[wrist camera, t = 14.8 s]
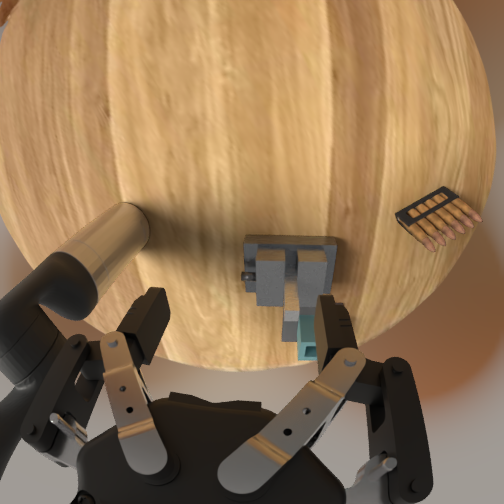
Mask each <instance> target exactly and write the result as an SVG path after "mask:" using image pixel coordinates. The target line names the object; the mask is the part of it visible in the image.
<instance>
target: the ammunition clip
mask: <svg viewBox="0 0 504 504" xmlns="http://www.w3.org/2000/svg"><path fill="white" fill-rule="evenodd" d="M466 215H467V216H468V217H470V218H472V219H473V220H475V221H478V222H483V221H482V218H481V217H480V216H479V214H478V213H477V212H475V211H474V210H473V209H472V208H470V206H469V205H468V204H466V203H465V202H463V201H462V200H460V199H459V196H458V195H456V194H455V193H453V192H452V191H450V190H449V189H447V188H446V187H444V186H442V187H441V188H439V189H437V190H436V191H434V192H432V193H430V194H429V195H427V196H425V197H423V198H422V199H420V200H418V201H416V202H415V203H413V204H411V205H409V206H407V207H406V208H404V209H402V210H400V211H399V212H397V213H395V216H396V218H397V221H398V223H399V224H400V225H401V226H402V227H403V228H404V229H405V230H406V231H408V232H409V233H410V234H411V235H413V236H414V237H415V238H416V239H417V240H418V241H419V242H421V243H422V244H423V245H424V246H425V247H426V248H427V249H428V250H430V251H432V252H435V247H434V245H433V243H432V242H431V240H430V239H429V238H428V237H427V235H428V236H430V237H432V238H433V239H434V240H435V241H436V242H437V243H439V244H440V245H443V246H446V242H445V240H444V238H443V237H442V236H441V234H440V233H439V232H438V231H437V230H439V231H441V232H442V233H444V234H445V235H446V236H447V237H449V238H451V239H453V240H455V239H456V237H455V234H454V233H453V231H452V230H451V229H450V228H449V227H448V226H447V225H449V226H451V227H452V228H453V229H455V230H456V231H458V232H460V233H462V234H465V230H464V228H463V227H462V225H461V224H460V223H459V222H458V221H460V222H461V223H463V224H464V225H466V226H468V227H470V228H474V225H473V223H472V221H471V220H470V219H469V218H468V217H467V216H466ZM457 220H458V221H457ZM446 224H447V225H446ZM436 229H437V230H436ZM425 233H426V234H427V235H426V234H425Z"/></svg>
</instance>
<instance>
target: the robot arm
mask: <svg viewBox="0 0 504 504" xmlns="http://www.w3.org/2000/svg"><path fill="white" fill-rule="evenodd" d="M149 234H150V230H149V224H148V221H147V219H146V217H145V216H144V214H143V213H142V212H141V211H140V210H139V209H138V208H137V207H135V206H134V205H131V204H129V203H118V204H116V205H114V206H113V207H111V208H110V209H108V210H107V211H105V212H104V213H102V214H101V215H100V216H98V217H97V218H95V219H94V220H93V221H91V222H90V223H89V224H87V225H86V226H85V227H83V228H82V229H81V230H80V231H78V232H77V233H76V234H75V235H73V236H72V237H71V238H70V239H68V240H67V241H66V242H65V243H64V244H62V245H61V246H60V247H59V248H58V249H56V250H55V251H54V252H53V253H52V254H51V255H50V256H48V257H47V258H46V259H45V260H44V261H43V262H42V263H41V264H40V265H39V266H38V267H37V268H36V269H35V270H34V271H32V272H31V273H30V274H29V275H28V276H27V277H26V278H25V279H24V280H22V281H21V282H20V283H19V284H18V285H17V286H15V287H14V288H13V289H12V290H11V291H10V292H9V293H8V294H6V295H5V296H4V297H3V298H2V299H1V300H0V371H1V372H2V373H3V374H4V375H5V376H6V377H7V378H8V379H9V380H10V381H11V382H12V383H13V384H14V385H15V387H14V388H13V390H12V391H11V392H10V393H9V394H8V396H7V397H5V398H4V399H3V400H2V401H1V402H0V480H1V477H2V475H3V473H4V470H5V468H6V466H7V463H8V461H9V459H10V457H11V455H12V454H13V452H14V450H15V448H16V446H17V444H18V443H19V441H20V440H21V438H23V440H24V441H25V442H27V443H28V444H29V445H31V446H32V447H33V448H34V449H35V450H37V451H38V452H39V453H41V454H42V455H43V456H45V457H46V458H48V459H49V460H51V461H54V462H56V463H57V464H58V465H60V466H62V467H72V468H74V469H76V470H77V473H78V492H77V495H76V497H75V498H74V500H73V501H72V502H71V503H70V504H415V503H417V502H420V501H422V500H423V499H425V498H426V497H427V496H428V495H429V494H430V492H431V490H432V488H433V474H432V466H431V458H430V452H429V445H428V440H427V434H426V428H425V423H424V418H423V414H422V409H421V405H420V401H419V396H418V392H417V389H416V385H415V381H414V377H413V373H412V370H411V367H410V365H409V363H408V362H407V361H405V360H404V359H402V358H399V357H391V358H389V359H387V360H386V361H385V362H384V363H380V362H375V361H371V360H368V359H366V358H365V356H364V354H363V353H362V352H361V351H359V350H358V347H357V343H356V339H355V335H354V331H353V327H352V323H351V321H350V316H349V312H348V311H347V309H346V308H345V307H344V306H343V305H335V301H334V297H333V295H318V297H317V304H316V310H315V316H314V333H315V342H316V351H317V361H318V372H319V376H318V377H317V378H316V379H315V380H314V381H309V382H308V383H307V384H306V385H305V386H304V387H303V388H302V389H301V390H300V391H299V393H298V394H297V395H296V396H295V397H294V398H293V399H292V400H291V401H290V402H289V403H288V404H287V405H286V406H285V407H284V409H282V411H281V412H280V413H279V414H278V415H277V414H275V413H273V412H272V411H269V410H267V409H263V408H261V402H254V401H253V402H252V401H239V400H237V401H229V402H221V403H211V402H208V401H206V400H203V399H200V398H198V397H195V396H193V395H188V394H181V393H176V392H170V395H169V398H161V399H158V400H155V401H153V399H152V397H151V395H150V392H149V390H148V387H147V385H146V382H145V380H144V377H143V374H142V372H141V370H140V367H141V365H142V364H146V365H150V363H151V361H152V358H153V356H154V354H155V351H156V349H157V347H158V345H159V342H160V340H161V338H162V336H163V333H164V331H165V329H166V327H167V325H168V322H169V320H170V307H169V304H168V300H167V296H166V292H165V289H164V288H158V287H150V288H149V289H148V291H147V292H146V294H145V295H144V296H143V295H141V296H140V297H139V298H138V299H136V300H135V301H134V303H133V304H132V306H131V308H130V309H129V310H128V312H127V314H126V315H125V317H124V318H123V320H122V322H121V323H120V325H119V326H118V328H117V330H116V331H114V332H110V333H107V334H106V335H104V336H103V338H102V339H101V341H89V342H88V340H87V338H86V337H85V336H84V335H82V334H76V335H73V336H71V337H70V338H69V339H68V340H67V339H66V338H65V337H64V336H63V335H62V333H61V332H60V331H59V330H58V329H57V327H56V326H55V325H54V324H53V322H52V321H51V320H50V319H49V318H48V316H47V315H46V314H45V312H44V311H43V310H42V308H41V307H40V306H39V304H41V305H44V306H46V307H48V308H50V309H51V310H53V311H54V312H56V313H57V314H59V315H60V316H63V317H64V318H67V319H70V320H75V321H76V320H77V321H78V320H82V319H84V318H86V317H87V316H88V315H89V314H90V313H91V312H92V310H93V309H94V308H95V306H96V305H97V303H98V302H99V301H100V299H101V298H102V297H103V295H104V294H105V293H106V292H107V290H108V289H109V288H110V286H111V285H112V284H113V283H114V281H115V280H116V279H117V278H118V276H119V275H120V274H121V273H122V272H123V270H124V269H125V268H126V267H127V266H128V264H129V263H130V262H131V261H132V260H133V258H134V257H135V256H136V255H137V254H138V253H139V251H140V250H141V249H142V248H143V247H144V246H145V244H146V243H147V241H148V239H149ZM79 372H81V375H80V376H79V378H78V380H77V383H76V385H75V380H76V378H77V375H78V374H79ZM104 382H105V386H106V390H107V394H108V398H109V402H110V405H111V409H112V412H113V416H114V419H115V421H116V425H115V426H113V427H112V428H110V429H108V430H107V431H105V432H103V433H102V434H100V435H99V436H97V437H95V438H94V439H92V440H90V441H89V442H88V441H87V432H86V430H85V429H86V426H87V424H88V421H89V419H90V416H91V413H92V411H93V408H94V406H95V403H96V401H97V398H98V396H99V394H100V391H101V389H102V386H103V384H104ZM347 401H353V402H358V403H363V404H365V406H366V415H367V426H368V439H369V455H370V460H369V461H368V462H366V463H365V464H364V465H363V466H362V467H361V468H360V469H359V470H358V472H357V475H356V480H355V482H354V484H353V486H352V487H350V488H346V489H345V488H344V486H343V484H342V483H341V482H340V480H339V479H338V478H337V477H336V476H335V475H334V474H333V473H332V472H331V471H330V470H329V469H328V468H327V467H326V466H325V465H324V464H323V463H322V462H321V461H320V460H319V459H318V457H316V455H315V454H314V453H313V452H312V451H311V448H312V447H313V446H314V445H315V444H316V442H317V441H318V440H319V439H320V438H321V436H322V435H323V434H324V432H325V431H326V429H327V428H328V426H329V425H330V424H331V422H332V421H333V420H334V418H335V417H336V416H337V414H338V413H339V411H340V410H341V409H342V408H343V406H344V405H345V403H346V402H347Z"/></svg>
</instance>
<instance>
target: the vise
mask: <svg viewBox="0 0 504 504" xmlns="http://www.w3.org/2000/svg"><path fill="white" fill-rule="evenodd" d="M336 252H337V243H336V241H335V238H334V237H327V236H285V235H246V236H245V240H244V264H245V272H242V274H241V280H242V281H245V285H246V292H256V297H257V306H280V307H283V299H284V321H298V320H299V311H300V310H299V307H316V304H317V297H318V295H323V294H330V291H331V285H332V279H333V272H334V266H335V259H336Z"/></svg>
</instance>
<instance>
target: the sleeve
mask: <svg viewBox="0 0 504 504" xmlns="http://www.w3.org/2000/svg"><path fill="white" fill-rule="evenodd" d="M314 316H315V315H299V321H298V329H297V347H298V360H317V351H316V342H315V333H314Z"/></svg>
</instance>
